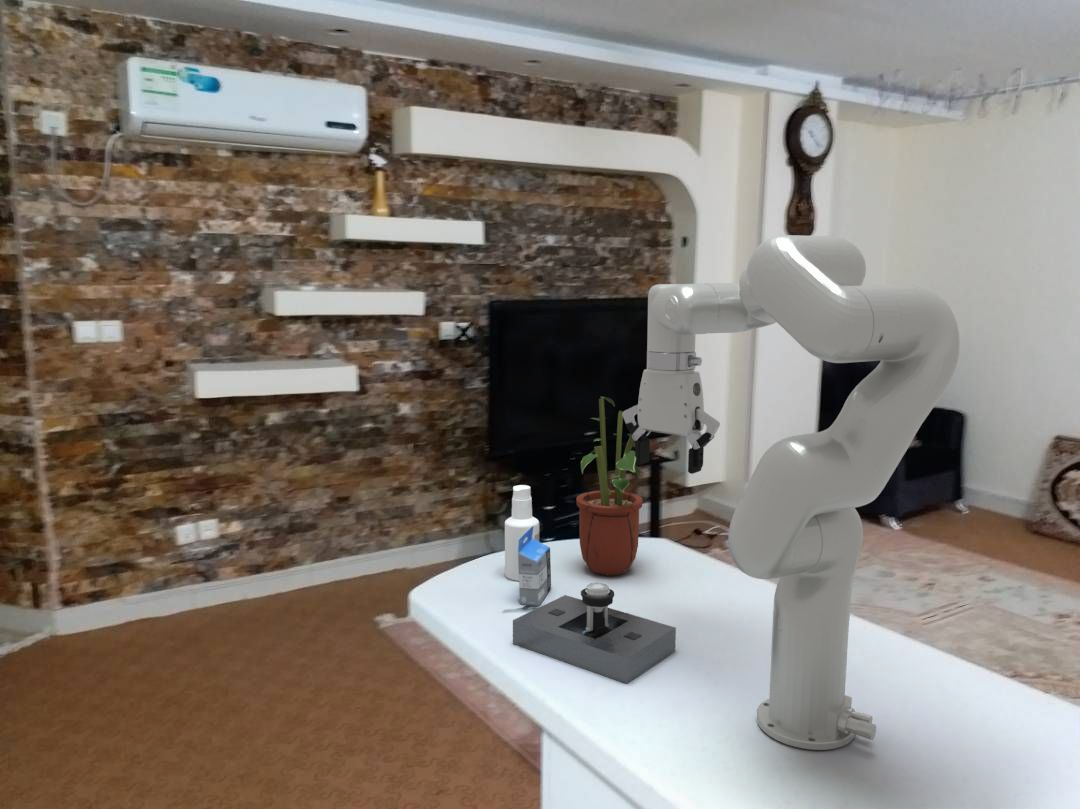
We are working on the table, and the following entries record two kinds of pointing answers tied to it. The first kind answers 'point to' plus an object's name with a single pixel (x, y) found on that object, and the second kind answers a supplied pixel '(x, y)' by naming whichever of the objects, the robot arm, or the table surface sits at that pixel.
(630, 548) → the potted plant
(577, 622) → the gray pocketed block
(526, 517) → the spray bottle
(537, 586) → the label tape box
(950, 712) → the table surface
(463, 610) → the table surface
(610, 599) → the push button
